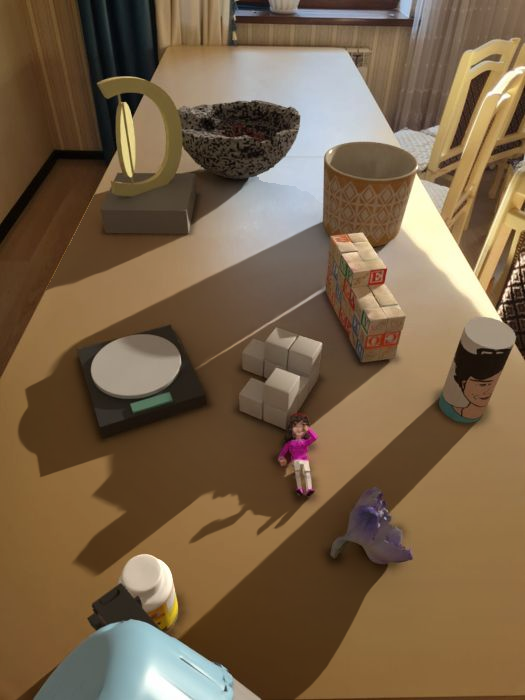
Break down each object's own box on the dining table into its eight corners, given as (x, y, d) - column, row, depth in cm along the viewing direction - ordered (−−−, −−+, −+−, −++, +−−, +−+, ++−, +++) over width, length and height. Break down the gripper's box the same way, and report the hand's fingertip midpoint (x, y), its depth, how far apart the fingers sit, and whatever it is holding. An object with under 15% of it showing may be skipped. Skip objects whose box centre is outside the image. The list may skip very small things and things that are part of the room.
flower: (339, 571, 57) (405, 504, 58) (303, 526, 65) (362, 467, 66) (380, 612, 61) (441, 549, 63) (342, 565, 69) (397, 509, 70)
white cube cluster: (253, 355, 92) (253, 318, 86) (318, 379, 88) (322, 342, 82) (216, 401, 84) (213, 364, 78) (286, 430, 80) (288, 393, 74)
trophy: (121, 194, 134) (97, 61, 114) (196, 195, 134) (186, 63, 114) (105, 232, 121) (75, 90, 100) (188, 233, 121) (175, 91, 100)
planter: (402, 213, 129) (416, 145, 118) (403, 257, 115) (420, 184, 103) (321, 206, 131) (328, 138, 120) (313, 247, 117) (319, 175, 106)
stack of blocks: (396, 359, 91) (410, 300, 83) (360, 364, 90) (371, 305, 82) (354, 286, 107) (362, 231, 98) (324, 289, 106) (330, 234, 97)
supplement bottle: (120, 634, 59) (102, 593, 52) (140, 584, 63) (126, 540, 56) (169, 646, 58) (157, 607, 51) (186, 595, 62) (177, 552, 55)
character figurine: (323, 499, 72) (312, 423, 80) (326, 481, 68) (314, 403, 76) (281, 502, 72) (273, 425, 80) (282, 484, 68) (273, 406, 76)
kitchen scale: (102, 438, 78) (98, 423, 76) (79, 359, 90) (75, 345, 88) (206, 404, 83) (205, 390, 81) (172, 334, 95) (170, 320, 93)
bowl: (320, 172, 145) (325, 114, 135) (237, 212, 128) (235, 150, 118) (238, 139, 161) (237, 86, 151) (154, 171, 144) (147, 113, 134)
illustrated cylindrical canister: (453, 426, 81) (482, 352, 70) (431, 394, 85) (455, 321, 75) (492, 417, 82) (526, 344, 72) (468, 386, 87) (497, 313, 77)
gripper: (397, 919, 32) (237, 765, 50) (202, 553, 31) (110, 529, 49) (309, 1059, 28) (170, 837, 46) (82, 644, 27) (30, 582, 45)
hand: (139, 678), depth 48 cm, fingers open, 13 cm apart
